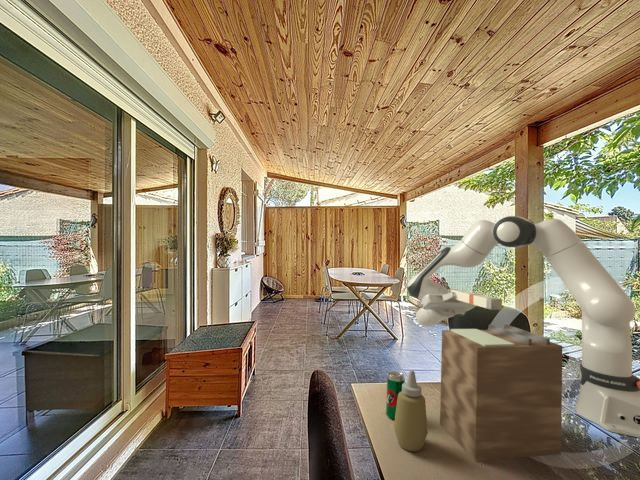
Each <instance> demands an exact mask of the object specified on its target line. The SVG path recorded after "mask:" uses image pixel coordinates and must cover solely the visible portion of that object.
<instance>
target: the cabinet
mask: <svg viewBox="0 0 640 480" xmlns="http://www.w3.org/2000/svg"><path fill="white" fill-rule="evenodd" d="M503 327H504V328H502V327H499V326H496V325H493V324H488V329H480V330H481V331H483V332H486V333H488V334H491V335H493V336H496V337H498V338H501V339H503V340H506V341H508V342H511V343H513V344H515V346H483V345H481V344H479V343H476V342H474V341H472V340H470V339H468V338H466V337H464V336H461V335H459V334H457V333H455V332H453V331H451V329H444V330H443V329H442V330H441V358H440V359H441V360H440V361H441V362H440V364H441V365H440V367H441V368H440V405H439V406H440V407H439V408H440V411H439V425H441V427H442V428H443V429H444V430H445V431H446V432H447V433H448V434H449V435H450V436H451V437H452V438H453V439H454V440H455V441H456V443H457V444H458V445H459V446H460V447H461V448H462V449H463V450H464V451H465V452H466V453H467V454H468V455H469V456H470V457H471V458H472V459H473V460H474V462H478V461H480V460H481V461H491V460H502V459H516V458H525V457H526V458H528V457H538V456H539V457H540V456H550V455H562V422H563V421H562V418H563V417H562V410H563V409H562V408H563V407H562V406H563V402H562V401H563V398H562V397H563V345H561V344H558V343H555V342H553V341H550V340H551V339H550V337H546V336H544V335H539V334H536V333H533V332H531V331H527V330H524V329H521V328H519V327H515V326H512V325H510V324H507V323H506V324H504V325H503Z"/></svg>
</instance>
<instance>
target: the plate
mask: <svg viewBox="0 0 640 480" xmlns="http://www.w3.org/2000/svg"><path fill="white" fill-rule="evenodd" d="M450 330H451V331H453V332H455V333H457V334H459V335H461V336H464V337H466V338H468V339H470V340H472V341H474V342H476V343H479V344H481V345H483V346H515V344H513V343H511V342H508V341H506V340H503V339H501V338H498V337H496V336H493V335H491V334H488V333H486V332H483V331H481V330H482V329H478V328H450Z"/></svg>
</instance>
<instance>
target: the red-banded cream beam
mask: <svg viewBox="0 0 640 480" xmlns="http://www.w3.org/2000/svg"><path fill="white" fill-rule="evenodd" d="M447 289H448V293H450V292H455V293H456V297H455V298H452V299H455V300H459V301H462V302H466V303H469V304H473V305H476V307H481V308H484V309H488V310H491V311H493V310H494V311H495V310H497V311H499V310H500V311H501V310H503V299H502V298H497V297H492V296H489V295H484V294H479V293H476V292H471V291H466V290H462V289H458V288H456V289H455V288H454V289H453V288H451V289H450V288H447Z"/></svg>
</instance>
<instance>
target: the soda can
mask: <svg viewBox="0 0 640 480" xmlns="http://www.w3.org/2000/svg"><path fill="white" fill-rule="evenodd" d="M403 383H406V379H405V376H404V374H403V373H401V372H399V371H390V372H389V373H388V375H387V377H386V400H385V401H386V405H385V406H386V408H385V414H386V416H387V417H388V418H389V419H390V420H394V421H395V413H396V406H397V398H398V394H399V392H401V391H402V384H403Z"/></svg>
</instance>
